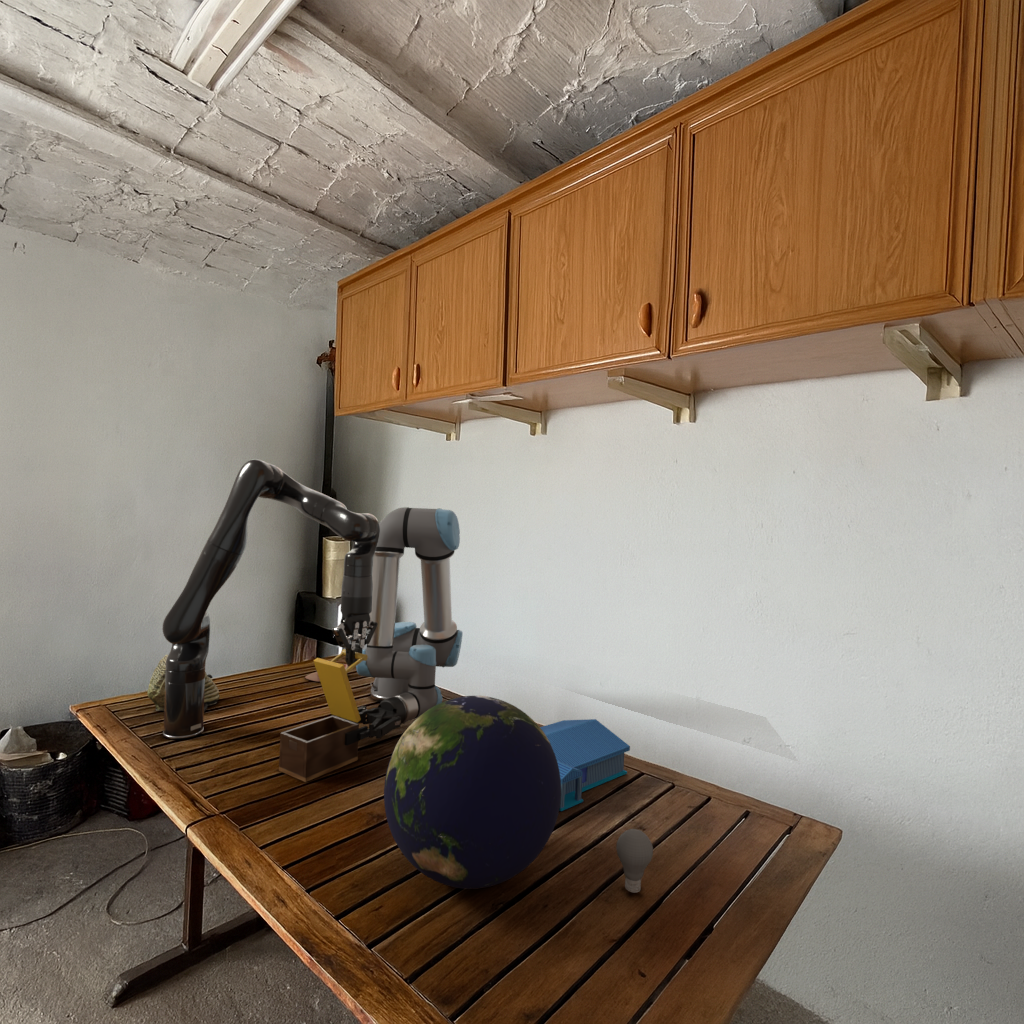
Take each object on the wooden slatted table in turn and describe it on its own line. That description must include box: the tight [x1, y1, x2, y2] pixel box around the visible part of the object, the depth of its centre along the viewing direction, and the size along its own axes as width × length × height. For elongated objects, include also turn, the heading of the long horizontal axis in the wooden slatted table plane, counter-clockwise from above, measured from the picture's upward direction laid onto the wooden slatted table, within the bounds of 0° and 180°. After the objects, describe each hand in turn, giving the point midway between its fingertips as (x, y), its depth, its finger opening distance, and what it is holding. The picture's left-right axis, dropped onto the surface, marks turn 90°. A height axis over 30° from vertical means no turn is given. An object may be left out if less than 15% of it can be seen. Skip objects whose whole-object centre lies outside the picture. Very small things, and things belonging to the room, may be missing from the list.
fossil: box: [147, 654, 221, 712], centre depth 185 cm, size 9×18×15 cm, turn 132°
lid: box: [313, 648, 368, 724], centre depth 156 cm, size 16×9×9 cm
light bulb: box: [615, 828, 654, 894], centre depth 106 cm, size 6×6×10 cm
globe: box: [383, 694, 561, 890], centre depth 108 cm, size 30×30×30 cm
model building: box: [539, 718, 631, 812], centre depth 145 cm, size 39×24×10 cm, turn 132°
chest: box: [278, 715, 360, 783], centre depth 149 cm, size 15×9×9 cm, turn 147°
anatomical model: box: [304, 663, 349, 683], centre depth 219 cm, size 13×4×12 cm
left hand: (353, 663), depth 157 cm, fingers closed
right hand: (331, 734), depth 152 cm, fingers closed on chest, 9 cm apart
